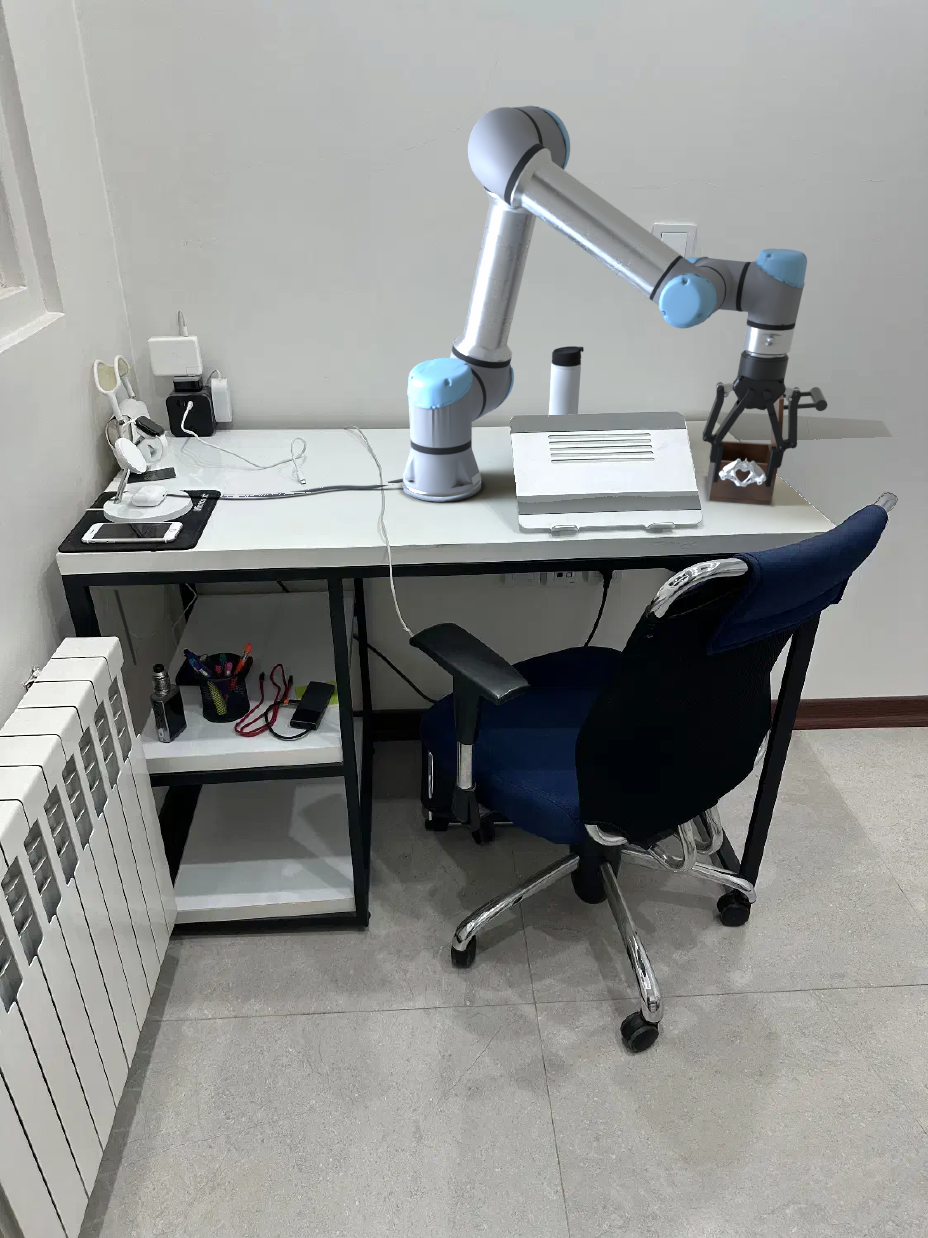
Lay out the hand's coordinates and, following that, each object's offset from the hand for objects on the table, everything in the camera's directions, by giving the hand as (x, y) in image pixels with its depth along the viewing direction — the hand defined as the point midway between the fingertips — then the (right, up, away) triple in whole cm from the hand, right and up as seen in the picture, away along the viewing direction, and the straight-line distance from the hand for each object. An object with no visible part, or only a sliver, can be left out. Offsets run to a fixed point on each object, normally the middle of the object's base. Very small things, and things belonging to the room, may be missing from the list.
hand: (741, 481), depth 153 cm
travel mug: (-27, +15, +38) cm, 50 cm away
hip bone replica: (0, 0, 0) cm, 1 cm away
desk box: (+3, 0, +12) cm, 13 cm away
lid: (+8, +12, +4) cm, 15 cm away
